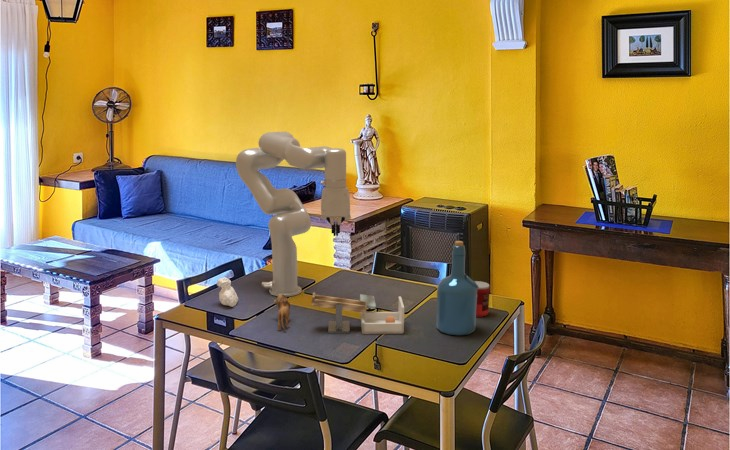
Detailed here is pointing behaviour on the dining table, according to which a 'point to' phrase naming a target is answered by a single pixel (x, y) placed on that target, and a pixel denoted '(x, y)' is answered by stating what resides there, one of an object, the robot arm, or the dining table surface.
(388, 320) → the ball
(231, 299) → the duck figurine
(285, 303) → the lion figurine
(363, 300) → the lever
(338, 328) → the fulcrum
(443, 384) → the dining table surface
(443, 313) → the wine bottle
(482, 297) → the canned food
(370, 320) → the bin
